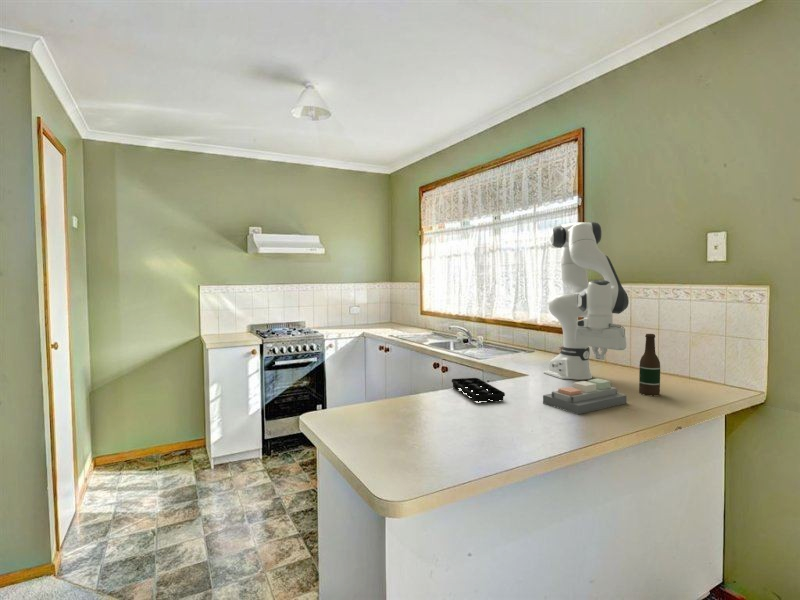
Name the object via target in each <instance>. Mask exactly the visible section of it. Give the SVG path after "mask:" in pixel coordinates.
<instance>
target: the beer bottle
mask: <svg viewBox="0 0 800 600" xmlns="http://www.w3.org/2000/svg"><path fill="white" fill-rule="evenodd" d="M644 335H645V347H644V353H643V355H641V358H640V359H639V373H638V374H639V377H638V378H639V379H638V380H639V381H638V382H639V384H638V385H639V386H638V388H639V394H640V393H641V395H643V394H644V396H647V395H652V396H651V397H655V396H654V395H659V396H660V393H661V362H660V359H659V357H658V355H657V354H656V342H655V338H656V334H654V333H645V334H644Z"/></svg>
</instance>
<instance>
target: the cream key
mask: <svg viewBox="0 0 800 600" xmlns="http://www.w3.org/2000/svg"><path fill="white" fill-rule="evenodd" d="M572 386H573V387H572V388H575V389H579V390H581V392H584V393H589V392H594V391H596V384H595V383H590V382H588V381H585V380H580V381H576V382H573V385H572Z"/></svg>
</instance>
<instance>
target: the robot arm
mask: <svg viewBox="0 0 800 600" xmlns="http://www.w3.org/2000/svg"><path fill="white" fill-rule="evenodd" d="M602 236H603V229H602V227H601V225H600V224H599V222H596V221H595V222H594V221H590V222H588V221H587V222H585V221H584V222H580V221H579V222H573V223H572V222H571V223H565V224H558V225H554V226H553V227H552V228H551V231H550V234H549V240H550V243H551V245H552V246H553V248H559V249H561V253H560V254H561V255H560V269H561V281H562V282H563V284H564V285H565V286H568V287H569V288H570V289H571V290H572V292H573V293H561V294H558V295H554V296H552V297H551V299H549V303H548V310H549V312H550V314H551V315H552V316H553V317H554V318H556V319H557V321H558V322H559V324H560V326H561V329H562V336H563V337H562V339H563V346H559V347H558V351H560V352H559V353H558V355H556V356H555V357H553V358H552V359H550V361H549V363H548V369H545V370H543V373H544V374H546V375H549V376H551V377H555V378H557V379H558V378H559V379H561V380H580V381H585V380H592V378H593V376H592V372H591V367H590V355H591V354H590V352H591V350H592V352H593V354H594V359H595V360H600V361H603V360H605V356H606V353H607V352H608V350H614V351H625V349H627V337H626V329H625V327H624V326H623V325H622V324H616V323H613V317H614V315H613V314H617V315H620V314H622V313H623V312H624V311H625V310H626V309H627V308H628V306H629V304H630V303H629V301H630V300H629V295H628V294H627V291H626V290H625V289H624V286H623V285H622V284H621V283H622V282H621V281H620V279H619V277H618V274H617V272H616V270H615V267H614V266H613V262H612V261H611V259H610V258H609V256H607V255H606V254H604V253H603V251H601V250H600V248H599V247H598V244H599V243H600V242H601V240H602ZM588 270H591V271H594V272H595V273H598V274H600V275H601V276H602V277H603V279H593V280H592V279H591V280H590V281H589V277H588ZM579 318H582V319H579ZM590 347H591V350H590ZM599 351H600V352H599Z"/></svg>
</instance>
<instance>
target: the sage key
mask: <svg viewBox="0 0 800 600" xmlns="http://www.w3.org/2000/svg"><path fill="white" fill-rule="evenodd" d="M587 382H590V383H595V384H596V389H598V390H604V389H609V388H610V387H611V380H606V379H601V378H593V379H592V378H591V379H587Z"/></svg>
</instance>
